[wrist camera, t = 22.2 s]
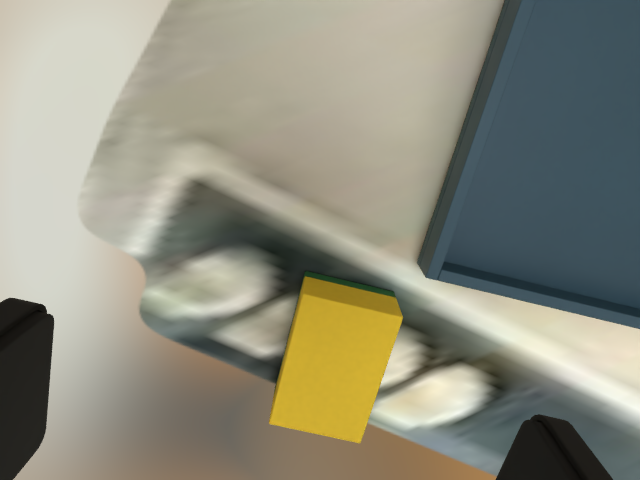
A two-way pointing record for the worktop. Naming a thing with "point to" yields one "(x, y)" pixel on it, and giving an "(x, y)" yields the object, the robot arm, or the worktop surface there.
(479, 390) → the worktop surface
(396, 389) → the worktop surface
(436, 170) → the worktop surface
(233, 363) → the worktop surface
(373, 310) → the sponge
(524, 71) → the tray
